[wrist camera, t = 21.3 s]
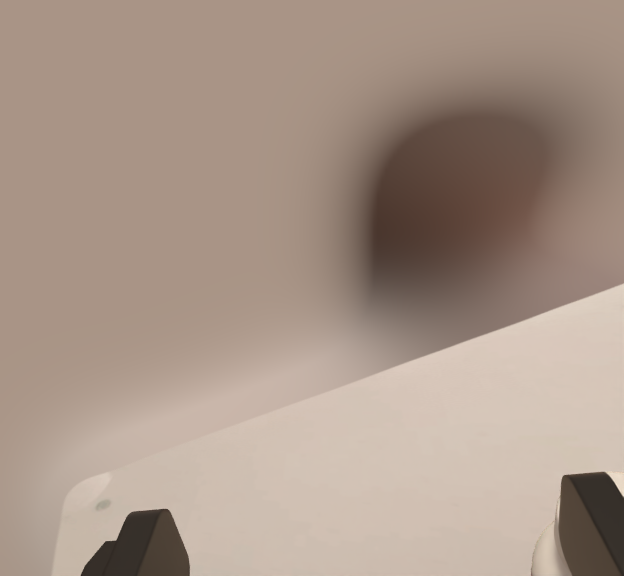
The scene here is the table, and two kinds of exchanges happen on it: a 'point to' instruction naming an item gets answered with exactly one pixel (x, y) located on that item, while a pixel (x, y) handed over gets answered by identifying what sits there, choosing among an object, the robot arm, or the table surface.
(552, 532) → the pill bottle
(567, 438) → the table surface
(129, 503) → the table surface
